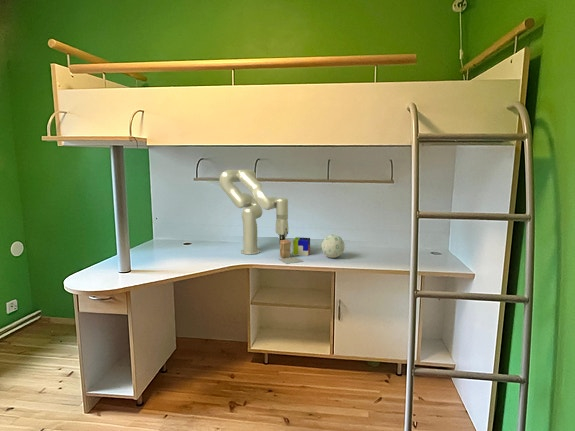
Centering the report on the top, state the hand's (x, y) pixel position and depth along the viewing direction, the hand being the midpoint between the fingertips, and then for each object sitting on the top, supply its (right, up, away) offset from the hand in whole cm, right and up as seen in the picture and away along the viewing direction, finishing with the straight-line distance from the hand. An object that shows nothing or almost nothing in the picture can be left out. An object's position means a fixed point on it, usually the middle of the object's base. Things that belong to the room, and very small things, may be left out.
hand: (282, 244), depth 260 cm
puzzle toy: (+13, -7, +8) cm, 17 cm away
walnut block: (+2, -8, -2) cm, 9 cm away
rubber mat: (+6, -10, -10) cm, 15 cm away
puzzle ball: (+33, -9, -1) cm, 34 cm away
